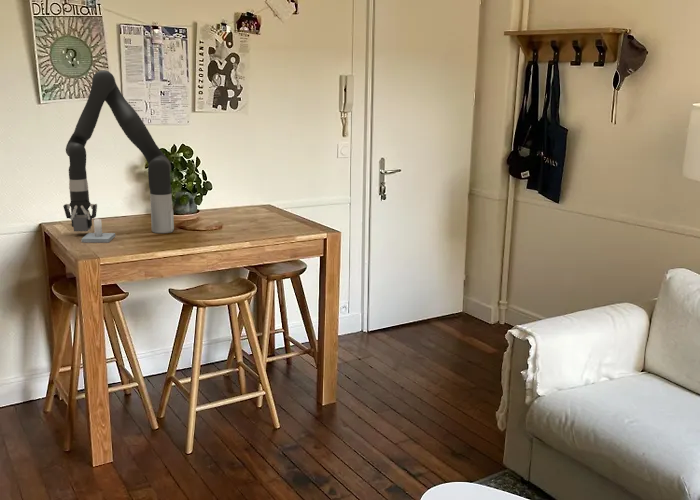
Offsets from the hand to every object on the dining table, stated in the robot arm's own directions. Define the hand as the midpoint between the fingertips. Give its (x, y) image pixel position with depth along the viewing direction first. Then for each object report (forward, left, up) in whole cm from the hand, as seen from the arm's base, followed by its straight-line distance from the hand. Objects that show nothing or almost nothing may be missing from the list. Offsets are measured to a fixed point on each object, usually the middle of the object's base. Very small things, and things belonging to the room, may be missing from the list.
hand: (82, 227), depth 306 cm
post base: (-9, +8, -3) cm, 13 cm away
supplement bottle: (+7, -20, -3) cm, 22 cm away
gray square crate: (0, 0, -1) cm, 1 cm away
